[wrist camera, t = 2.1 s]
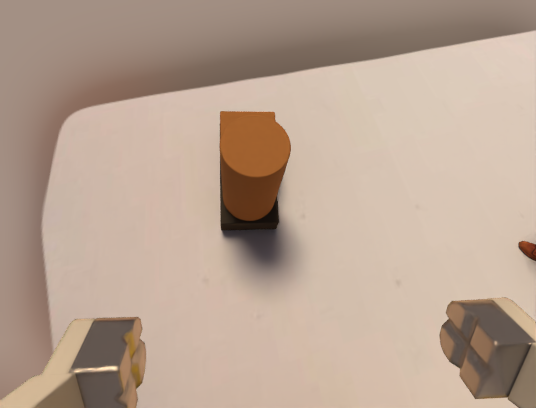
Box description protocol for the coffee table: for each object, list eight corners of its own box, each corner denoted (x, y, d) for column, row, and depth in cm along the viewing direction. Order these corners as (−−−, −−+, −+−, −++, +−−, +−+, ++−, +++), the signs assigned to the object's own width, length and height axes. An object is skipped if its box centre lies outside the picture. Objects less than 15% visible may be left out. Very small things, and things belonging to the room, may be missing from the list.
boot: (221, 230, 32) (216, 180, 22) (220, 133, 36) (216, 51, 25) (276, 229, 33) (296, 180, 22) (270, 134, 36) (285, 53, 26)
